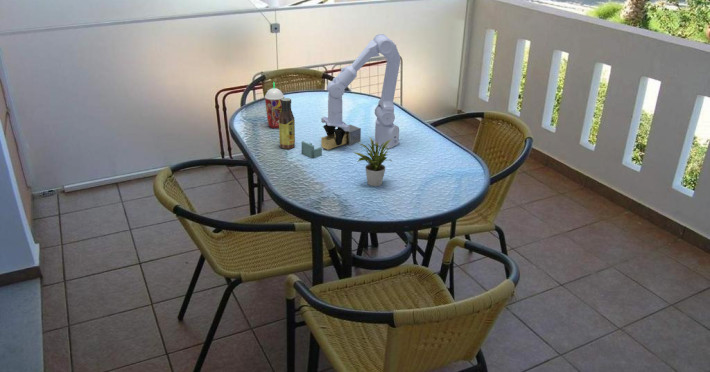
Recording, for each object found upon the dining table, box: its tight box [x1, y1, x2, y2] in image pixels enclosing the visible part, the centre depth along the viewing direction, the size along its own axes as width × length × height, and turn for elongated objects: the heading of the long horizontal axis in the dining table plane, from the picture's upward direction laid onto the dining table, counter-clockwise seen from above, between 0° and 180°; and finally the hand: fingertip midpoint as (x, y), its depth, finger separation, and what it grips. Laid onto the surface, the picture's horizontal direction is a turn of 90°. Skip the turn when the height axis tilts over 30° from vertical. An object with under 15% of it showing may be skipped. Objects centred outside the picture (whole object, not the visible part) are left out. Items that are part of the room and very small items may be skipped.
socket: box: [301, 141, 323, 159], centre depth 234 cm, size 5×7×5 cm
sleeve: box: [345, 124, 362, 146], centre depth 247 cm, size 6×6×6 cm
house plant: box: [353, 137, 393, 187], centre depth 210 cm, size 14×14×16 cm
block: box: [320, 132, 349, 150], centre depth 243 cm, size 16×4×4 cm, turn 135°
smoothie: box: [264, 81, 285, 129], centre depth 259 cm, size 8×8×20 cm
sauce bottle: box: [278, 97, 296, 150], centre depth 238 cm, size 6×6×20 cm
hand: (335, 143), depth 243 cm, fingers closed on block, 4 cm apart
